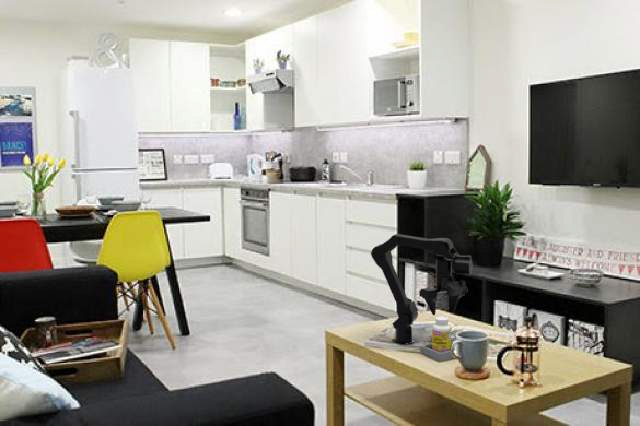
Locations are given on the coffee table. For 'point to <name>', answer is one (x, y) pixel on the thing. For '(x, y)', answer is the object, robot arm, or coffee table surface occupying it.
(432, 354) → the walled box
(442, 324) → the supplement bottle
